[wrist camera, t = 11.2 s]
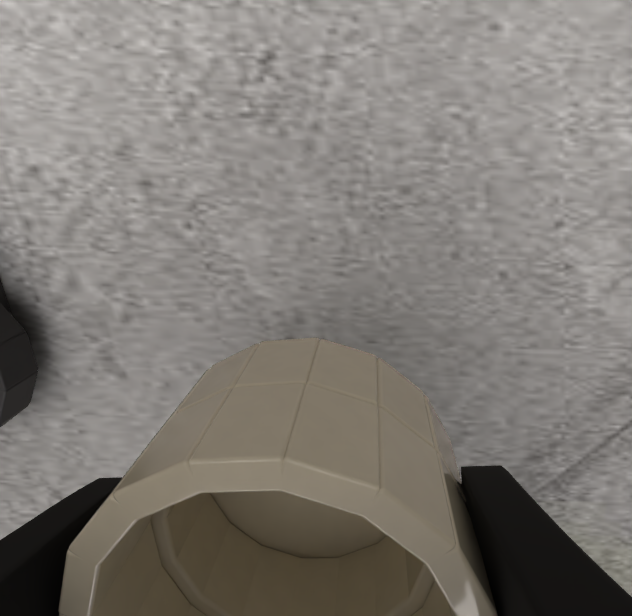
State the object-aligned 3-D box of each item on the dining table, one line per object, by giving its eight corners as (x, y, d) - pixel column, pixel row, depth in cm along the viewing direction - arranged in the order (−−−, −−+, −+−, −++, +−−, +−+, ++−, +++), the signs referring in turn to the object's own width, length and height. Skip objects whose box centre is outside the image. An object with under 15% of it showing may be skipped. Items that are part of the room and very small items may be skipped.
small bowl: (442, 317, 9) (497, 449, 5) (453, 562, 10) (502, 813, 6) (157, 338, 10) (5, 466, 6) (206, 563, 11) (114, 788, 7)
